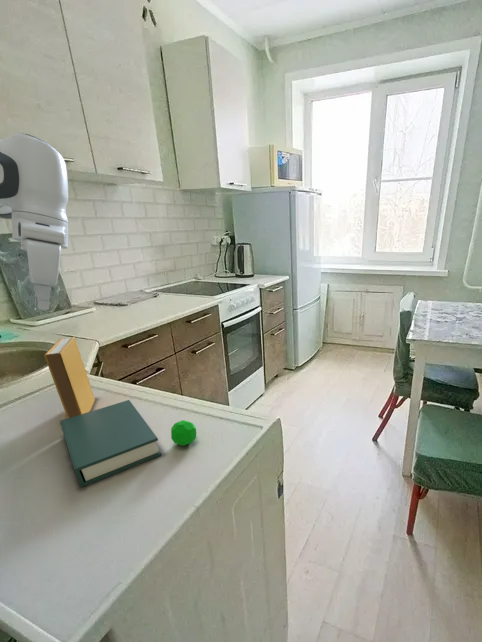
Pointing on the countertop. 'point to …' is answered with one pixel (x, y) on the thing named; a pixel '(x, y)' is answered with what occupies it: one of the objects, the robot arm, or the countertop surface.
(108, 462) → the hardcover
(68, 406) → the paperback
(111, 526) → the countertop surface
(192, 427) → the polyhedron
